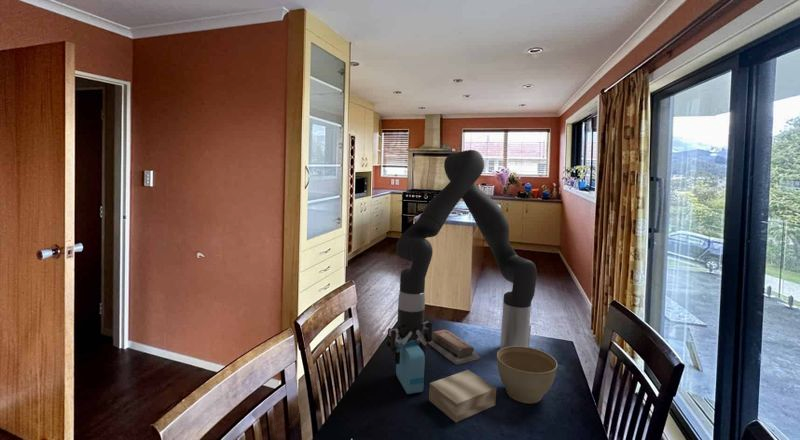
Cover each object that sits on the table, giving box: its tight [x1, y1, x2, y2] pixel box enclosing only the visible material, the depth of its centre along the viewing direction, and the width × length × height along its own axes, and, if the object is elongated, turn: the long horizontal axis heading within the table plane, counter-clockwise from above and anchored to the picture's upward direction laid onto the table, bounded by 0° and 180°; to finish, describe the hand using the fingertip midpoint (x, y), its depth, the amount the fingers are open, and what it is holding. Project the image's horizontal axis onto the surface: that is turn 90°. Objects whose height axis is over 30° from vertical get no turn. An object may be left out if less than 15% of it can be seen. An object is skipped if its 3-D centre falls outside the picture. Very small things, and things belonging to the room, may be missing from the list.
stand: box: [428, 369, 497, 423], centre depth 107 cm, size 14×11×5 cm
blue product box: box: [395, 338, 426, 395], centre depth 115 cm, size 12×4×12 cm, turn 18°
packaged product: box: [427, 329, 481, 365], centre depth 138 cm, size 18×5×10 cm
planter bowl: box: [496, 346, 558, 404], centre depth 112 cm, size 16×16×11 cm
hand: (408, 359), depth 115 cm, fingers open, 8 cm apart
